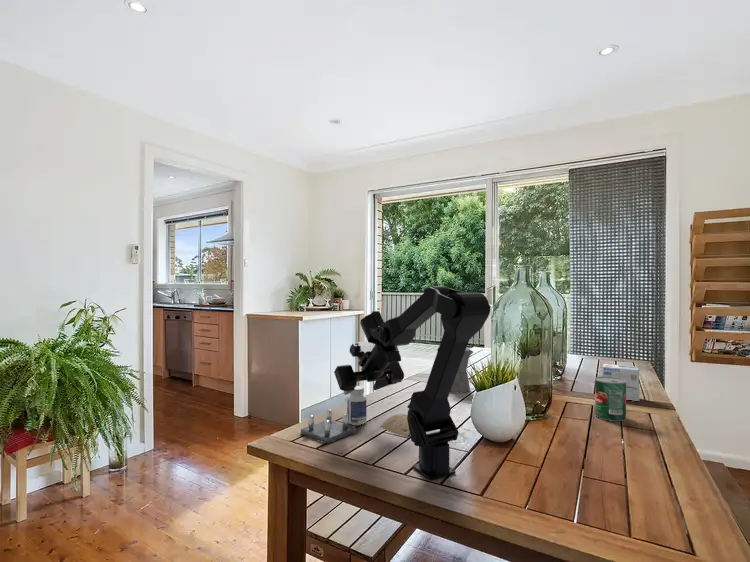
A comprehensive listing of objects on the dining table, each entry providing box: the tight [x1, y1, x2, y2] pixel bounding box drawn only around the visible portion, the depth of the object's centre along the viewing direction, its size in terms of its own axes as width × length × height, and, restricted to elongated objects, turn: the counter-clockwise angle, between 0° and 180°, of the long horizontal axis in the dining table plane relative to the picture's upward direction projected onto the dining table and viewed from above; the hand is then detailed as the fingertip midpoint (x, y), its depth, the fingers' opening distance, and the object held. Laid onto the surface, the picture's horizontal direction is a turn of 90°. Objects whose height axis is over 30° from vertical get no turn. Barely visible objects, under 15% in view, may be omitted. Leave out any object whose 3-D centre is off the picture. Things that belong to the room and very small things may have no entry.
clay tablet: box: [380, 413, 410, 438], centre depth 110 cm, size 14×10×3 cm
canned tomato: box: [594, 376, 627, 422], centre depth 117 cm, size 8×8×11 cm
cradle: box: [300, 408, 357, 444], centre depth 104 cm, size 10×10×5 cm
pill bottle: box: [346, 385, 367, 426], centre depth 113 cm, size 5×5×10 cm
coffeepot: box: [436, 347, 474, 394], centre depth 148 cm, size 15×9×18 cm, turn 44°
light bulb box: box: [602, 363, 641, 402], centre depth 137 cm, size 11×7×11 cm, turn 58°
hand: (359, 391), depth 111 cm, fingers open, 9 cm apart
